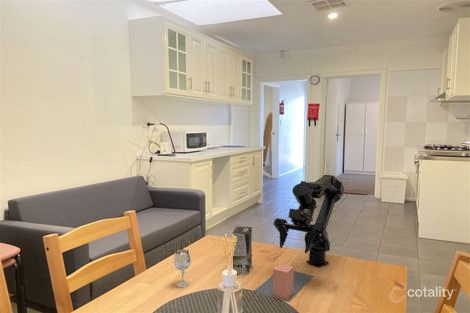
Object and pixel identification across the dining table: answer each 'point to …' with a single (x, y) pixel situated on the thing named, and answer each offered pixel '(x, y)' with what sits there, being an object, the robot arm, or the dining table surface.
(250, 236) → the coffee box
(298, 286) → the mat
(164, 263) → the dining table surface
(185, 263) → the wineglass
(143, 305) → the dining table surface
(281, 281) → the red block
